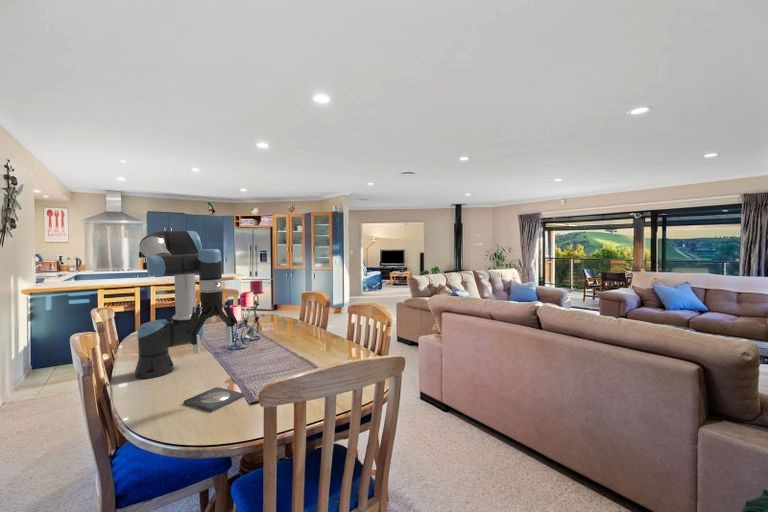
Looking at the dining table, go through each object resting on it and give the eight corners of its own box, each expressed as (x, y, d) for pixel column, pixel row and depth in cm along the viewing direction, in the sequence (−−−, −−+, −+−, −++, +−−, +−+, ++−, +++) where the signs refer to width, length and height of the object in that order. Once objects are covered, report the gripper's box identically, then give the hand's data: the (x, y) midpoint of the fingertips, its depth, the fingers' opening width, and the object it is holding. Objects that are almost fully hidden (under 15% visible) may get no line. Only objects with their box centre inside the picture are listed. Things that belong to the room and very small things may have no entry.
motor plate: (183, 403, 136) (183, 400, 136) (216, 389, 148) (216, 386, 148) (211, 412, 129) (211, 408, 129) (244, 396, 141) (244, 393, 141)
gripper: (185, 296, 124) (188, 359, 125) (245, 287, 146) (247, 340, 147) (171, 295, 127) (174, 356, 128) (232, 286, 149) (234, 338, 150)
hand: (213, 348), depth 137 cm, fingers open, 13 cm apart
